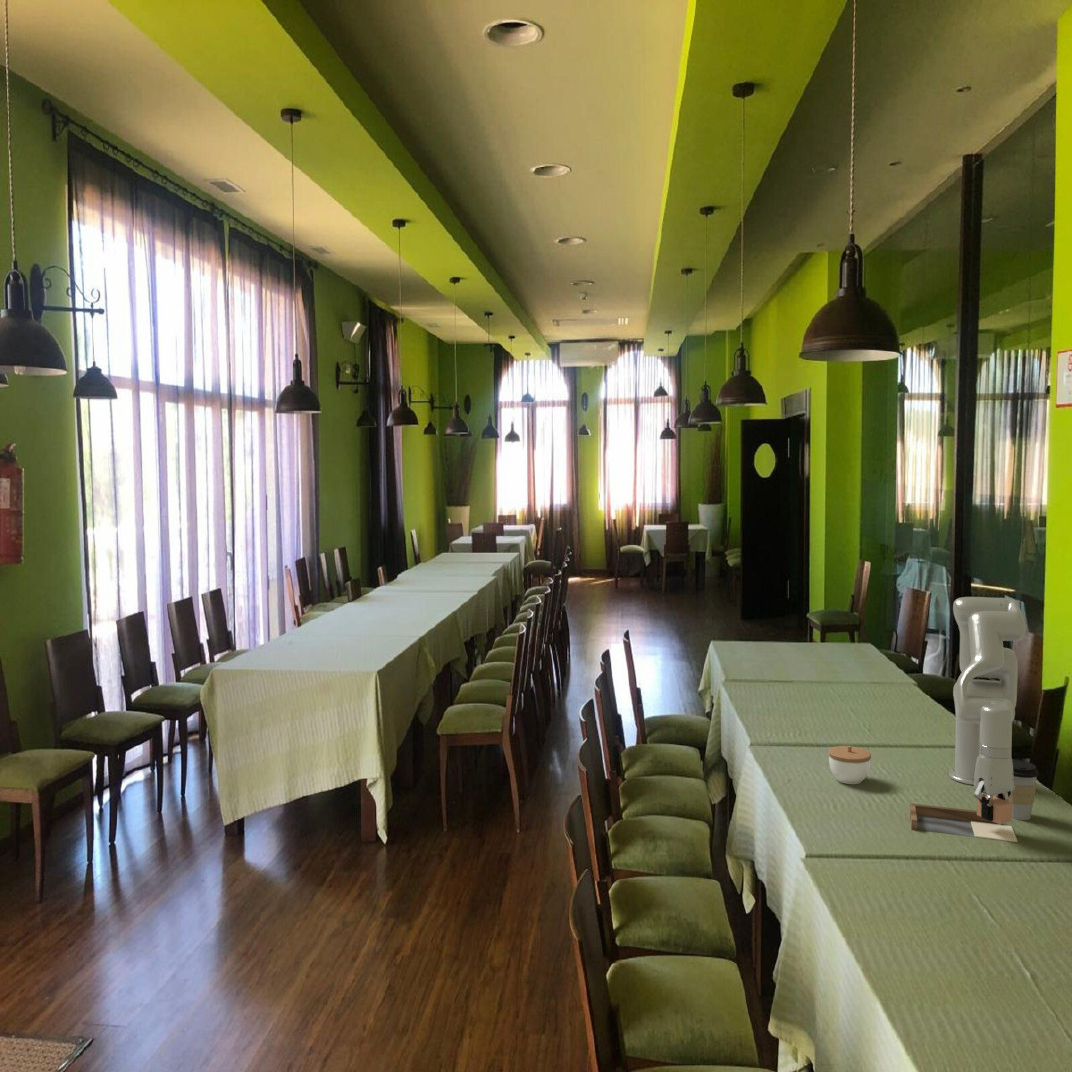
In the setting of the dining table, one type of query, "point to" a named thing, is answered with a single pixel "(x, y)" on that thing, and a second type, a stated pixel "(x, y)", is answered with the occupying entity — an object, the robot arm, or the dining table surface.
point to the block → (998, 810)
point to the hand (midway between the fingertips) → (993, 816)
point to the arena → (944, 820)
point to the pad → (993, 831)
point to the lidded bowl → (849, 763)
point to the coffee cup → (1023, 789)
